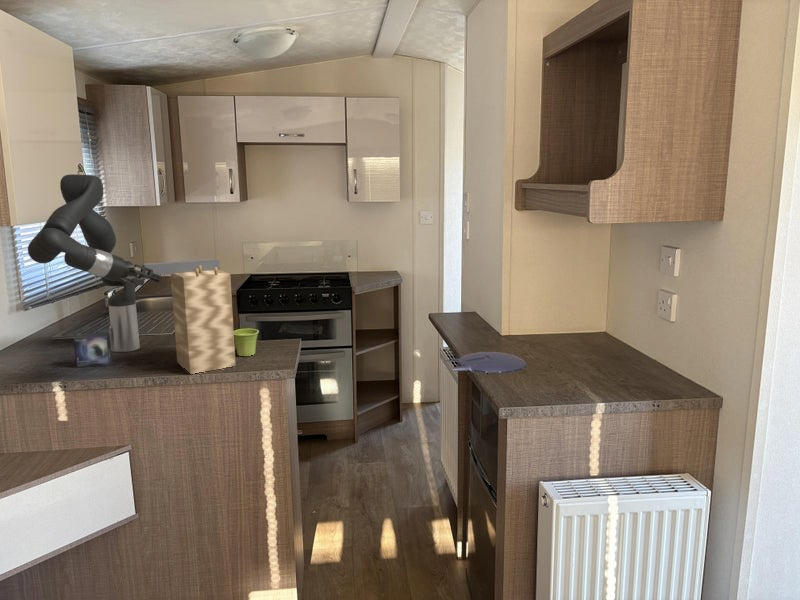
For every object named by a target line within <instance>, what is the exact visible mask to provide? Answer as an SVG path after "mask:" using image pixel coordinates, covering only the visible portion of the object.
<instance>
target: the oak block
mask: <svg viewBox="0 0 800 600" xmlns="http://www.w3.org/2000/svg"><path fill="white" fill-rule="evenodd" d="M231 280H232V279H231V273H229V272H227V271H224V270H221V269H220V270H217V267H214V270H210V271H202V266H201V265H199V269H198V268H196V272H186V273H174V274H170V285H171V286H170V287H171V294H172V295H171V296H172V297H171V298H172V309H173V311H172V312H173V324H174V336H175V350H176V362H177V363H178V364H179V365H180V366H181V368H183V369H184V368H185V369H186V370H187V371H188V372H189V373H190V374H193V375H196V374H195V373H199V372H204V373H206V372H205V371H210V370H216V369H222V368H226V367H232V366H236V352H235V351H236V350H235V348H236V346H235V338H234V331H235V330H234V316H233V315H234V314H233V313H234V312H233V299H232V297H233V296H232V281H231ZM185 369H184V370H185ZM186 370H185V371H186ZM222 370H223V369H222ZM187 371H186V372H187ZM216 371H217V370H216ZM188 372H187V373H188ZM210 372H211V371H210ZM189 373H188V374H189ZM190 374H189V375H190ZM199 374H200V373H199Z"/></svg>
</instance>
